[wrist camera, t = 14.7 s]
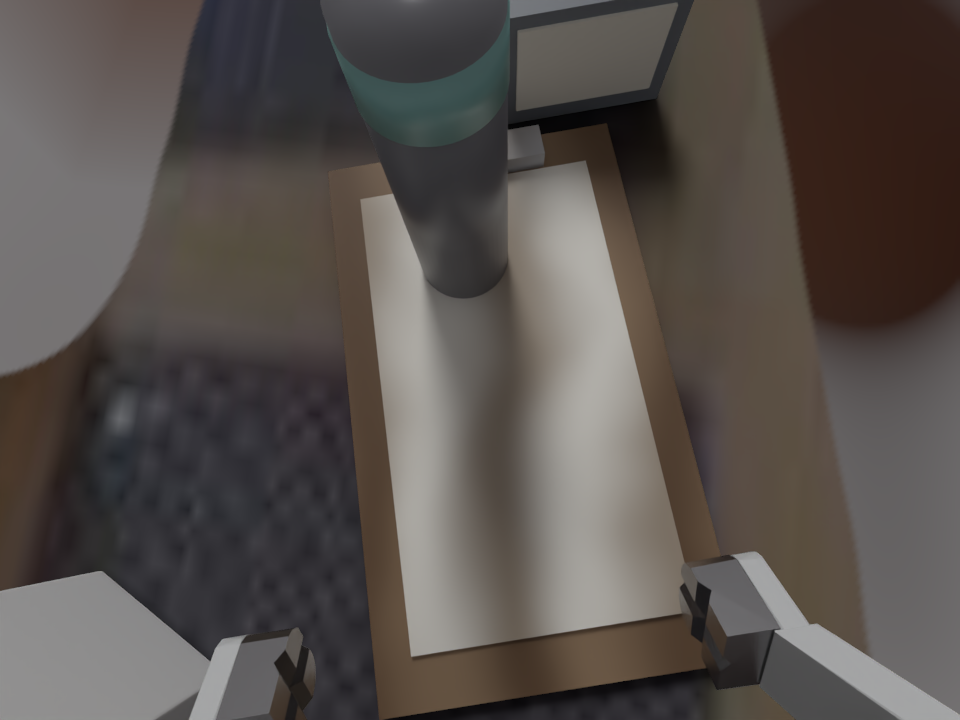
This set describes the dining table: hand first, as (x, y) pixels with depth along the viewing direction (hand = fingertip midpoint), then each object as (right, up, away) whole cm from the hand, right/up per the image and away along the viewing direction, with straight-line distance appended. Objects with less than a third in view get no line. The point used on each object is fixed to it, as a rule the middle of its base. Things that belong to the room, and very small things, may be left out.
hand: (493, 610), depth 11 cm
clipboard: (+1, +4, +12) cm, 13 cm away
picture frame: (+5, +19, +15) cm, 25 cm away
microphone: (-1, +10, +13) cm, 16 cm away
